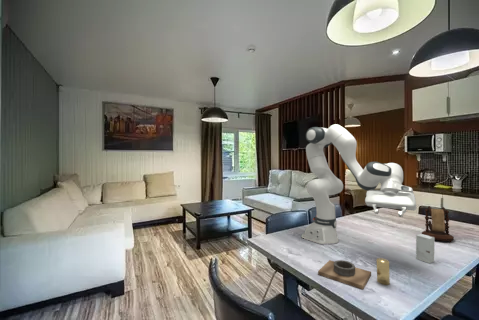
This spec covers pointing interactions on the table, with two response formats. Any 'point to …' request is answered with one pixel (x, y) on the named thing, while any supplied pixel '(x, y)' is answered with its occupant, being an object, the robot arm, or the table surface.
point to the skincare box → (425, 248)
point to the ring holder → (345, 273)
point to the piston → (383, 271)
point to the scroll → (438, 224)
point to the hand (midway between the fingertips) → (388, 214)
